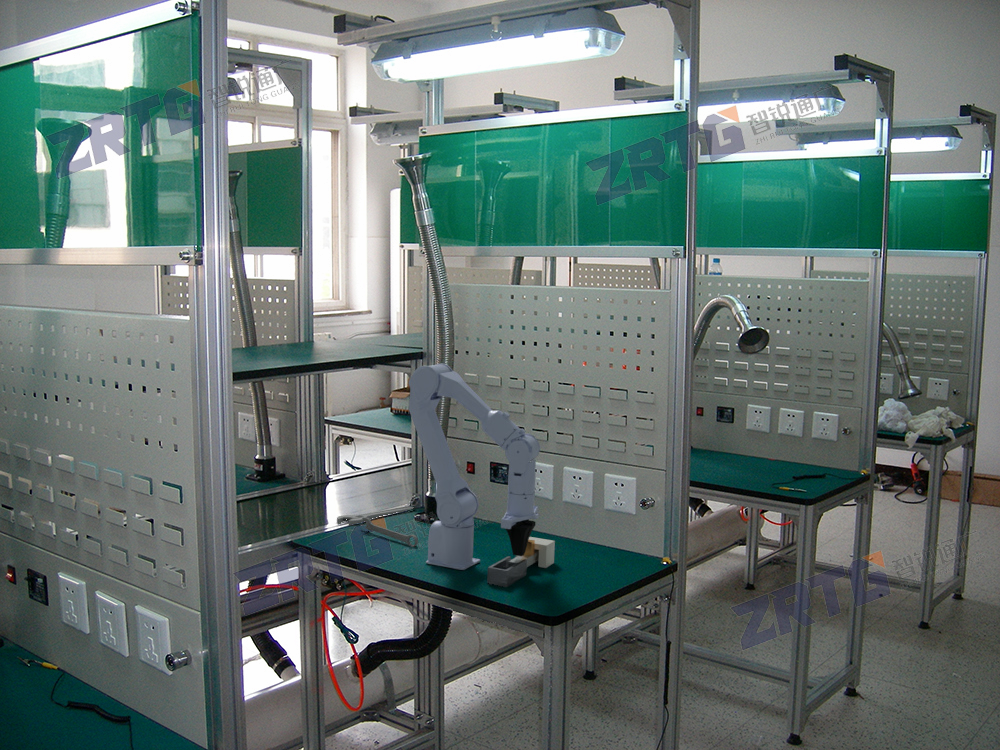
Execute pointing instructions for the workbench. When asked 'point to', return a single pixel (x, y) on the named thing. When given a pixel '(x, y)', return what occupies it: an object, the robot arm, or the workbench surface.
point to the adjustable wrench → (370, 515)
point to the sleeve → (506, 572)
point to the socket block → (544, 551)
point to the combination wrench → (389, 532)
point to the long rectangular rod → (527, 555)
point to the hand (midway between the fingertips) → (518, 554)
